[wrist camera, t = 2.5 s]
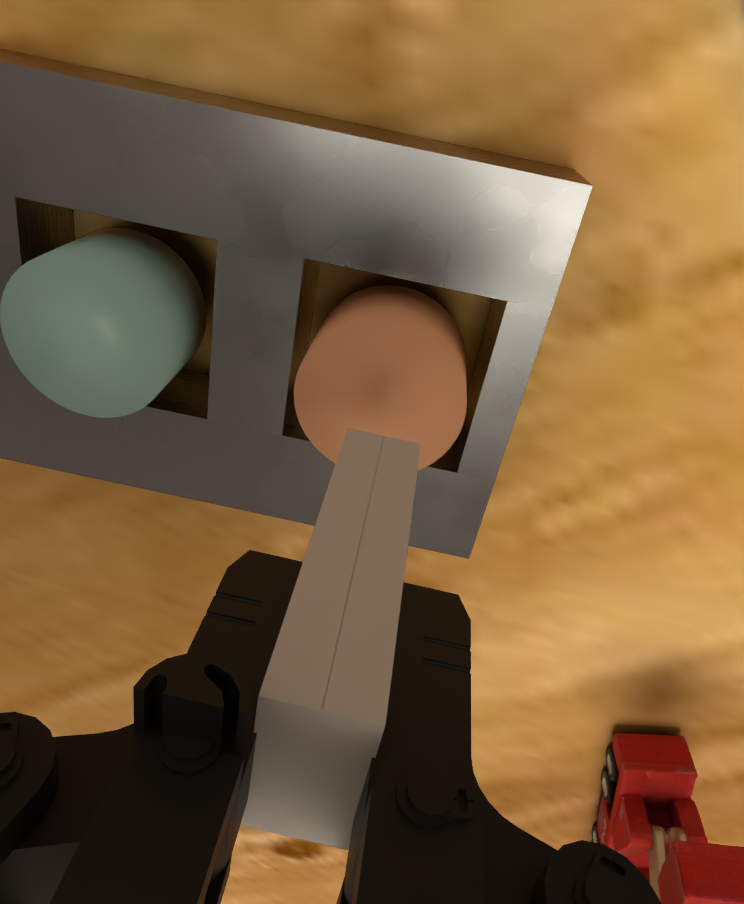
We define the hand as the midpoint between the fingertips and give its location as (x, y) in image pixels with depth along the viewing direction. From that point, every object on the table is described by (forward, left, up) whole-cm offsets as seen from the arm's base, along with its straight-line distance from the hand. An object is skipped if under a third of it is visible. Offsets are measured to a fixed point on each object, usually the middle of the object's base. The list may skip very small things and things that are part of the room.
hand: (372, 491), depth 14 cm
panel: (-8, 0, -9) cm, 12 cm away
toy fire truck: (+15, -19, -10) cm, 26 cm away
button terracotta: (0, 0, -7) cm, 7 cm away
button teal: (-8, 0, -7) cm, 11 cm away
